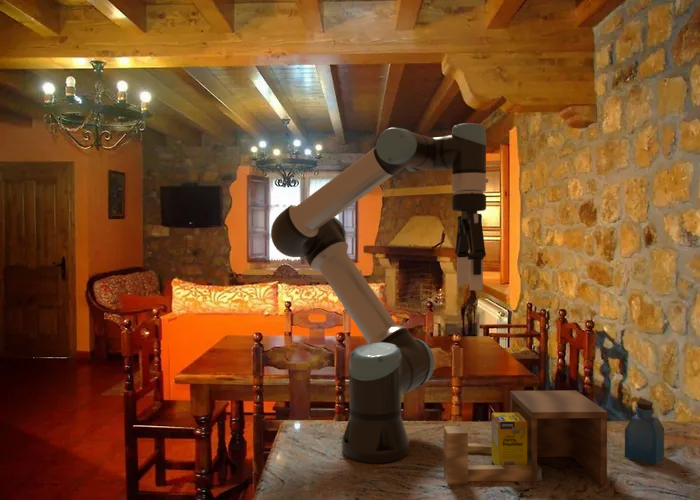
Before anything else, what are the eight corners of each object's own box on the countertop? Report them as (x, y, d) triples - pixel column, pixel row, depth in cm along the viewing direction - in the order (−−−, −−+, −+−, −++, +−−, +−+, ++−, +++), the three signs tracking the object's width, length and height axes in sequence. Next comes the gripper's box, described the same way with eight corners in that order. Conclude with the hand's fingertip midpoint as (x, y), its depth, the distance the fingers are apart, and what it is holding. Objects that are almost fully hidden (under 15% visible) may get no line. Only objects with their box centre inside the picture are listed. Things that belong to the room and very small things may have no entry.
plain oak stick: (458, 453, 126) (458, 445, 126) (458, 450, 127) (458, 442, 127) (513, 456, 124) (513, 448, 124) (512, 453, 125) (512, 445, 125)
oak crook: (447, 483, 109) (447, 433, 109) (437, 459, 121) (437, 413, 121) (543, 483, 109) (543, 432, 109) (524, 458, 121) (524, 413, 121)
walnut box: (532, 484, 109) (532, 412, 108) (510, 454, 124) (510, 390, 123) (606, 484, 109) (607, 411, 108) (575, 454, 124) (575, 390, 123)
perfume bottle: (624, 457, 122) (624, 402, 122) (633, 449, 126) (633, 396, 126) (656, 465, 118) (656, 408, 117) (664, 456, 122) (664, 402, 122)
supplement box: (528, 474, 113) (528, 421, 113) (498, 475, 113) (498, 421, 113) (519, 462, 119) (519, 411, 119) (491, 463, 119) (490, 412, 119)
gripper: (500, 188, 114) (500, 292, 115) (473, 197, 139) (473, 282, 140) (463, 189, 114) (464, 292, 115) (443, 197, 139) (443, 282, 140)
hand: (469, 287), depth 127 cm, fingers open, 13 cm apart
